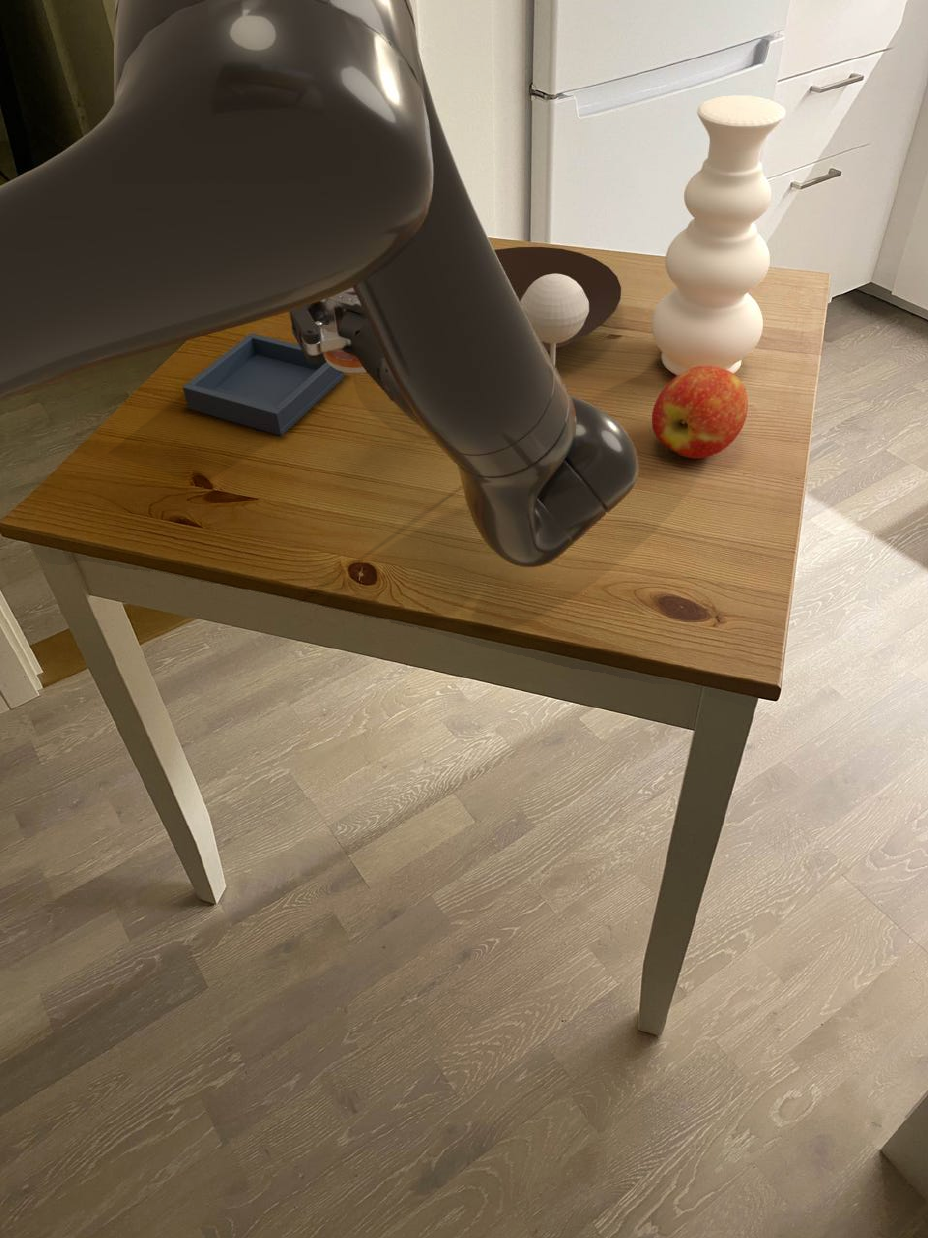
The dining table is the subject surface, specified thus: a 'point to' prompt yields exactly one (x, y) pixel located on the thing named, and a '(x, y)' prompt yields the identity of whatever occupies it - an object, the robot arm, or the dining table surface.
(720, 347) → the vase
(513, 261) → the plate
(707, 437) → the apple
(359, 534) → the dining table surface
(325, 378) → the tray
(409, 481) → the dining table surface
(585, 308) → the lollipop
